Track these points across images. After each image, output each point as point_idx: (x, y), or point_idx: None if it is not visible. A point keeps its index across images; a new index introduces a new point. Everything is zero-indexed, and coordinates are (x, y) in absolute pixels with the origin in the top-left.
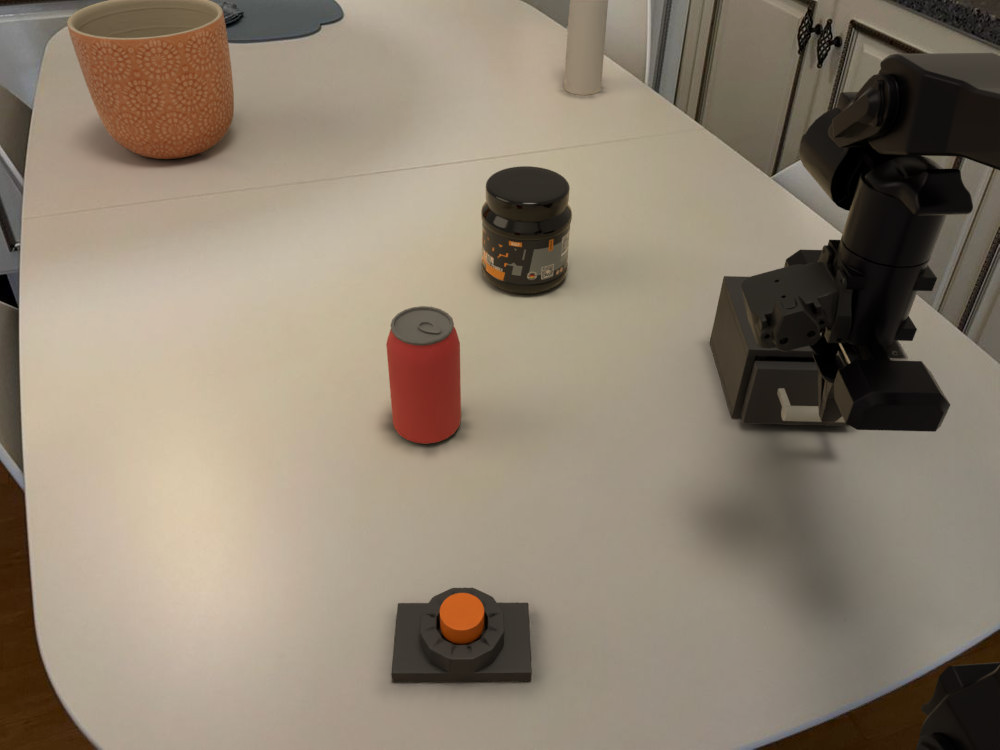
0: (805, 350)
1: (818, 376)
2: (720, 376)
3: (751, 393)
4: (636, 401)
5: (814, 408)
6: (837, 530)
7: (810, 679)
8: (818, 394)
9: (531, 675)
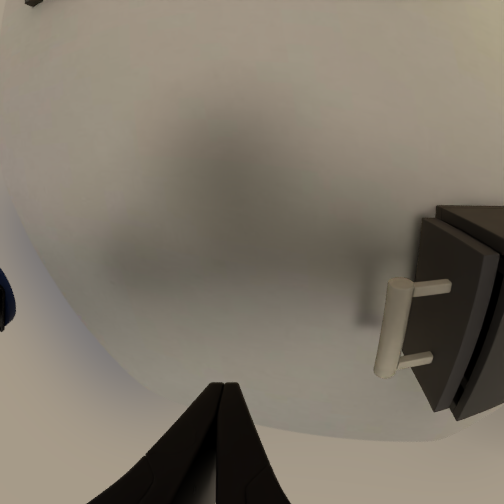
0: (493, 343)
1: (260, 466)
2: (499, 206)
3: (452, 236)
4: (457, 78)
5: (397, 333)
6: (235, 305)
7: (48, 235)
8: (245, 421)
9: (27, 4)
